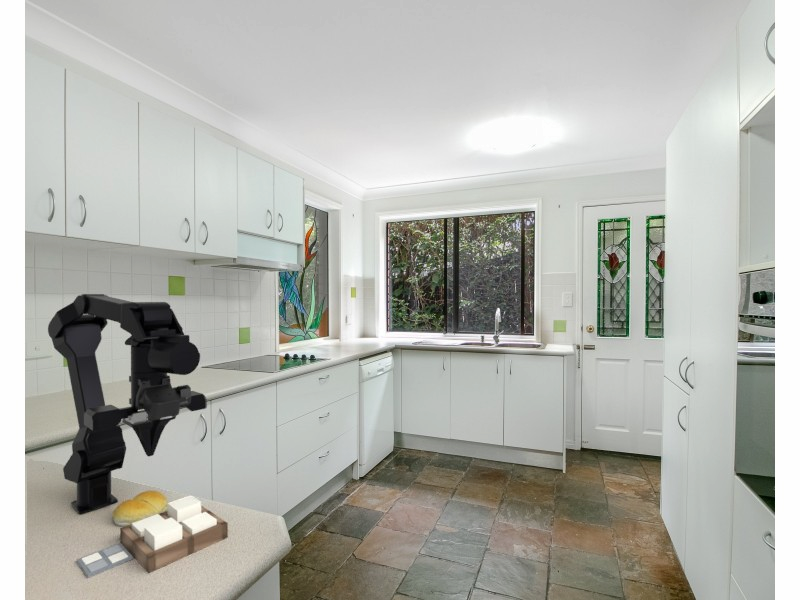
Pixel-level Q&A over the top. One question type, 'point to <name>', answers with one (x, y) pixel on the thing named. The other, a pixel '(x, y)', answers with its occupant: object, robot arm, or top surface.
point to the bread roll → (140, 508)
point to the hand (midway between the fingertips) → (149, 455)
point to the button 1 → (145, 524)
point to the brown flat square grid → (175, 550)
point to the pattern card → (104, 559)
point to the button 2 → (162, 533)
